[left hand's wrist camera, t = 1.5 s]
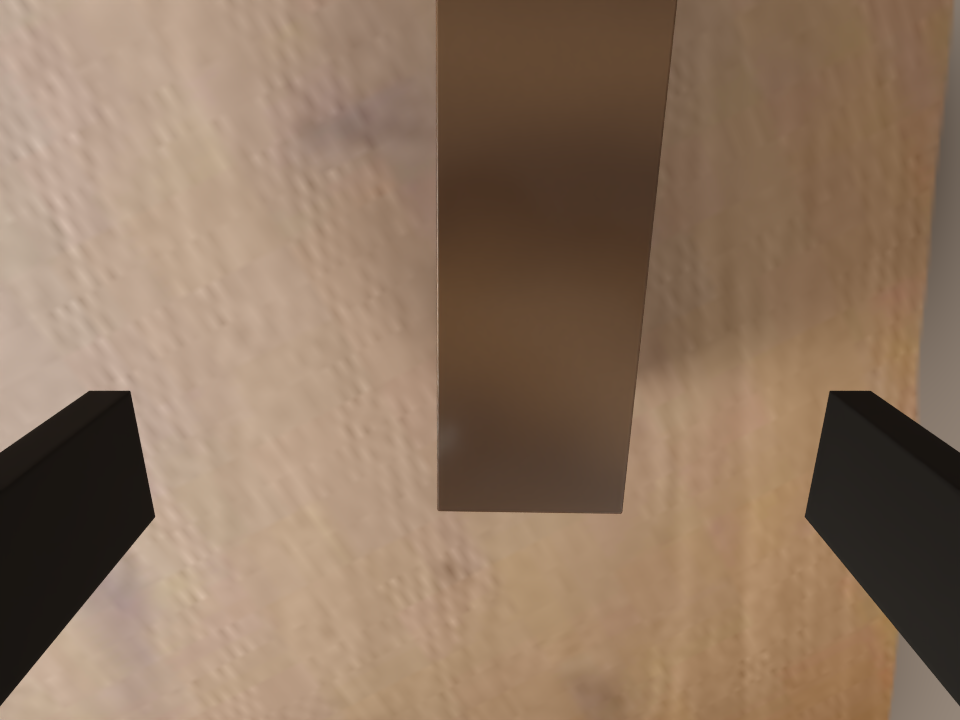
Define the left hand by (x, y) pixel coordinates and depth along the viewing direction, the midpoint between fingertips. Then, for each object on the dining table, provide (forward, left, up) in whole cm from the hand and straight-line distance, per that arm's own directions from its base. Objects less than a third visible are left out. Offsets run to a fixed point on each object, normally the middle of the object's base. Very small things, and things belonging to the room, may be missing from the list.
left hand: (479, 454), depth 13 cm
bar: (+9, -1, -14) cm, 16 cm away
